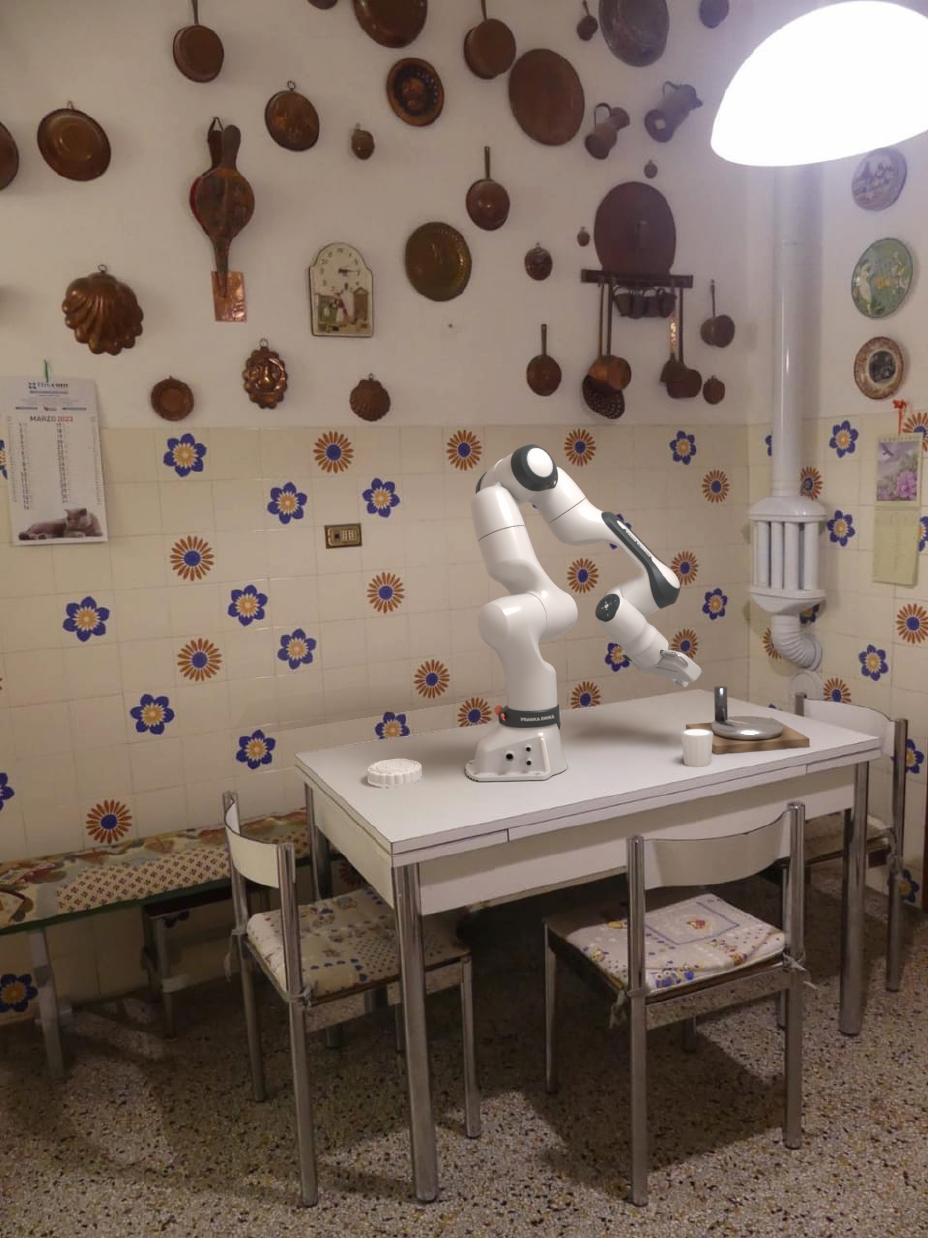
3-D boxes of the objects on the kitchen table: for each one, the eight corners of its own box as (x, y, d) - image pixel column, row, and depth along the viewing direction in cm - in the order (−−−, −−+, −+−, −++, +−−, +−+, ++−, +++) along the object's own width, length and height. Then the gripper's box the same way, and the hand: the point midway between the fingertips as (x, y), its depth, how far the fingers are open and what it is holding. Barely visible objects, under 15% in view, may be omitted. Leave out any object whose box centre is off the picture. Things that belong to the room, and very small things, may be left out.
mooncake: (383, 770, 215) (382, 755, 214) (431, 774, 210) (430, 758, 209) (357, 787, 204) (356, 770, 203) (407, 791, 199) (406, 774, 199)
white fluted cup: (714, 768, 203) (714, 736, 202) (681, 767, 205) (681, 736, 204) (712, 758, 210) (712, 728, 209) (681, 758, 211) (680, 728, 210)
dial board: (715, 754, 213) (715, 744, 212) (685, 732, 232) (685, 723, 232) (809, 747, 215) (809, 737, 214) (772, 725, 234) (772, 716, 234)
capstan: (796, 729, 221) (796, 689, 220) (758, 743, 211) (757, 702, 210) (734, 718, 234) (734, 680, 233) (696, 731, 224) (695, 692, 222)
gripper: (685, 642, 210) (720, 679, 216) (629, 633, 228) (663, 668, 234) (670, 665, 209) (706, 701, 214) (615, 654, 227) (649, 688, 232)
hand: (683, 684), depth 224 cm, fingers closed
